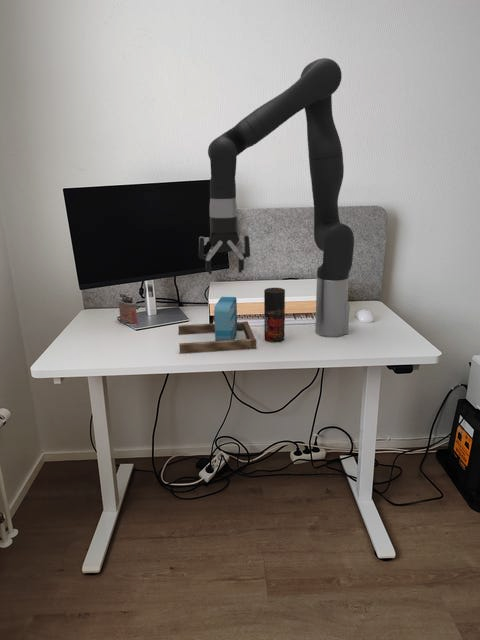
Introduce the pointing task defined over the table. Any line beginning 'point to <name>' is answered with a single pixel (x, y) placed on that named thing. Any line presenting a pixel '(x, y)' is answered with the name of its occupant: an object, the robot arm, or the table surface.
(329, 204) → the robot arm
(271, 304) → the deodorant
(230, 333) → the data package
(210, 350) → the walnut u-shaped frame
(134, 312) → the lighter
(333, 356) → the table surface
